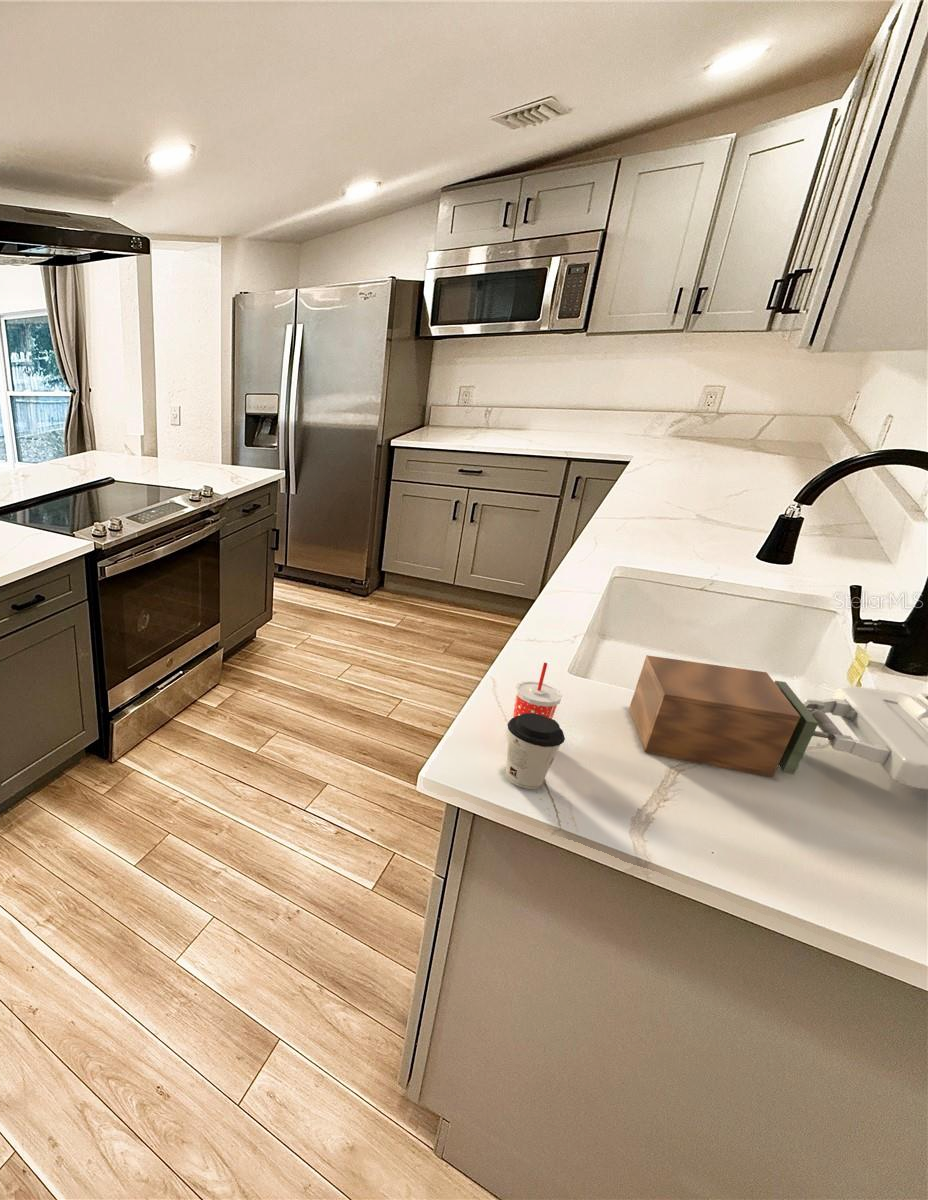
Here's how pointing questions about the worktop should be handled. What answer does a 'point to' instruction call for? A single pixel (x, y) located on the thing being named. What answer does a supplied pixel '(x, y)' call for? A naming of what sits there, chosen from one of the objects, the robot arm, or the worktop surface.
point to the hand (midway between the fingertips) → (817, 722)
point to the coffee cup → (531, 749)
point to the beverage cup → (536, 697)
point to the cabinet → (712, 715)
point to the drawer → (803, 730)
